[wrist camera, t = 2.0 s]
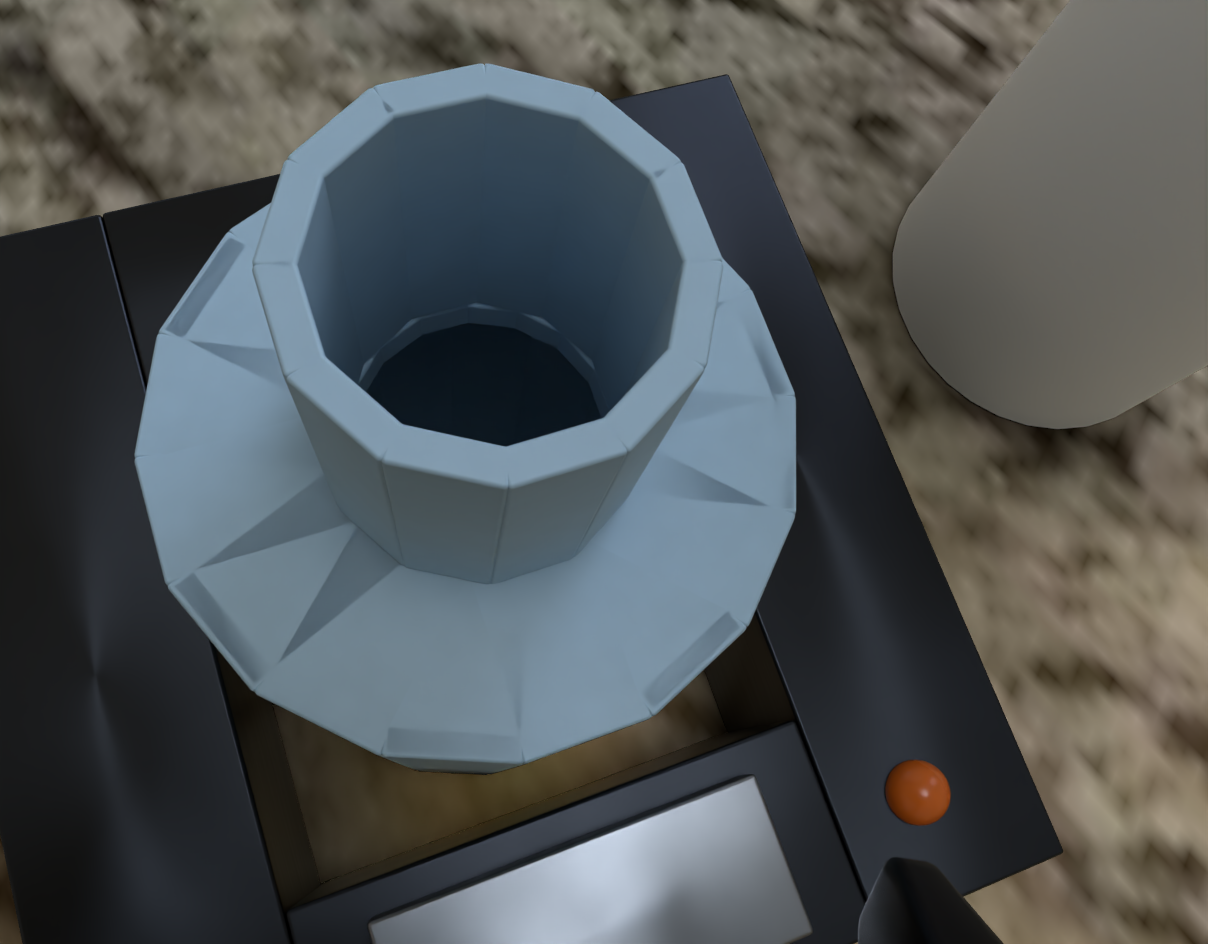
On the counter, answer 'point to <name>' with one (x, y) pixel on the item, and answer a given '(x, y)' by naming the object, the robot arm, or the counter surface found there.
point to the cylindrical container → (1072, 223)
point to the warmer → (537, 832)
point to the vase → (470, 428)
